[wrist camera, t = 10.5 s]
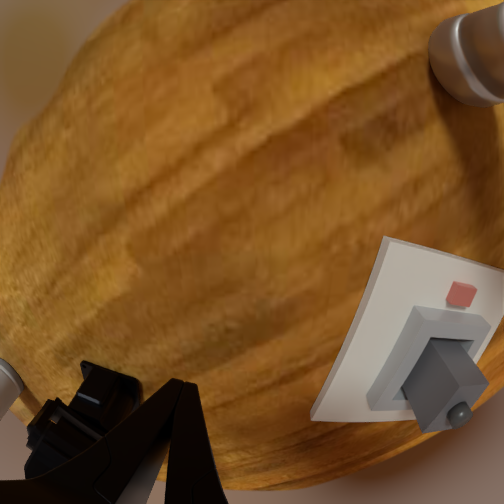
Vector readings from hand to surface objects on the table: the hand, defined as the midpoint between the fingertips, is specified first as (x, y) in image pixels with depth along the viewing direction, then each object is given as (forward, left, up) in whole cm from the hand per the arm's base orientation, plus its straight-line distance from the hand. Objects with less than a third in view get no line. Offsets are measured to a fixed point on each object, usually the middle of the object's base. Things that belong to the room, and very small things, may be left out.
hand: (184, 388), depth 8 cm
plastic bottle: (+18, -13, -12) cm, 25 cm away
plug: (-5, -18, -11) cm, 22 cm away
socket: (-5, -18, -12) cm, 22 cm away
